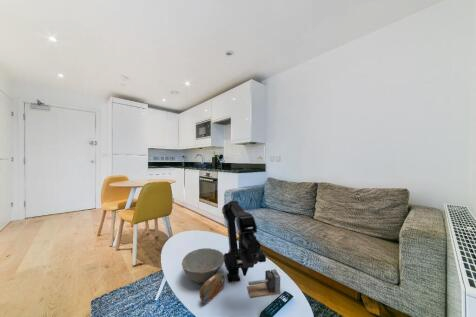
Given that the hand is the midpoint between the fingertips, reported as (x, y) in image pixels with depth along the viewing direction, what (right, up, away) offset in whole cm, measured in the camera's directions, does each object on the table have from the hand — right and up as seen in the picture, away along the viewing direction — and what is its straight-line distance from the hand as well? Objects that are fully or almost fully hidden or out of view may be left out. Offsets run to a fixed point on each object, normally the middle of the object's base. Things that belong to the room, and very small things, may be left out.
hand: (244, 275), depth 85 cm
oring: (+13, -11, +8) cm, 18 cm away
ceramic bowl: (-22, -11, +16) cm, 30 cm away
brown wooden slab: (-15, -12, +4) cm, 20 cm away
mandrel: (+10, -12, +7) cm, 17 cm away
